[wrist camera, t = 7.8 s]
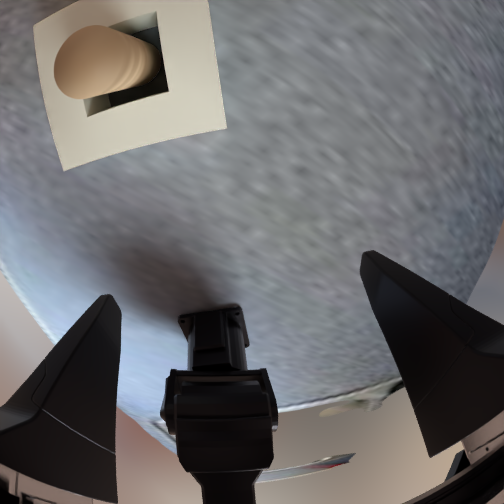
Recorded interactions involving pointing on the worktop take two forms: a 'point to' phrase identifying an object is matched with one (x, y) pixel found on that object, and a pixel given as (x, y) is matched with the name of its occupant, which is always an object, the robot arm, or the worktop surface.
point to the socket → (143, 109)
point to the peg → (103, 62)
